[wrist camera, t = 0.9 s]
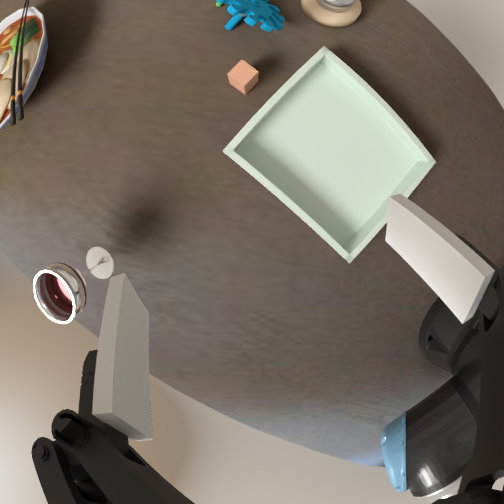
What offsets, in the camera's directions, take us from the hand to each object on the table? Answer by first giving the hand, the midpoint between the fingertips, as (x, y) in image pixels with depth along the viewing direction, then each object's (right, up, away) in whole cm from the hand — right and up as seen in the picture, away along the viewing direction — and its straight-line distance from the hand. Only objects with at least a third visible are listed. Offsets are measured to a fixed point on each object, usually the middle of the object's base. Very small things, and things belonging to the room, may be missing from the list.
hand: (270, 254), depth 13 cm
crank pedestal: (+10, +33, +13) cm, 37 cm away
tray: (+9, +12, +19) cm, 25 cm away
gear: (-1, +31, +14) cm, 34 cm away
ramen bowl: (-40, +30, +15) cm, 52 cm away
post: (-2, +21, +17) cm, 27 cm away
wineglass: (-23, -1, +24) cm, 34 cm away
